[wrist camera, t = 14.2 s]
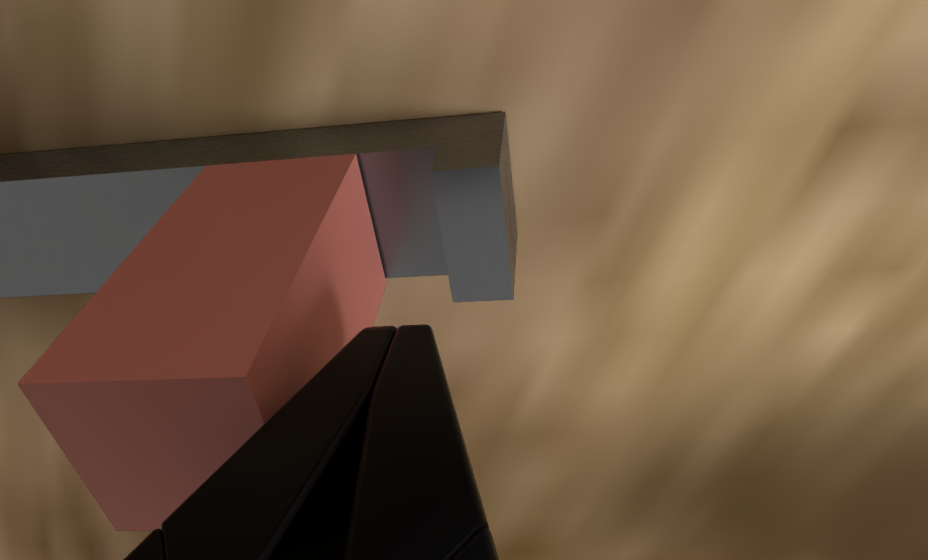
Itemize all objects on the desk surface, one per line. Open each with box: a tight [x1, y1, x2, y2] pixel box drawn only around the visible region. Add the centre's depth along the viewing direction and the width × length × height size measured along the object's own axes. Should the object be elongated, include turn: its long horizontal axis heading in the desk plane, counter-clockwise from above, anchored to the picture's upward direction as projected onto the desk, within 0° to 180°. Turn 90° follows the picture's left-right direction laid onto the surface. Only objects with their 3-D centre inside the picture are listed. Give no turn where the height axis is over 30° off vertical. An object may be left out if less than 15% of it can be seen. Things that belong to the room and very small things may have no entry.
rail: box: [0, 112, 517, 302], centre depth 13 cm, size 13×2×2 cm, turn 97°
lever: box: [18, 154, 386, 531], centre depth 10 cm, size 2×2×5 cm
